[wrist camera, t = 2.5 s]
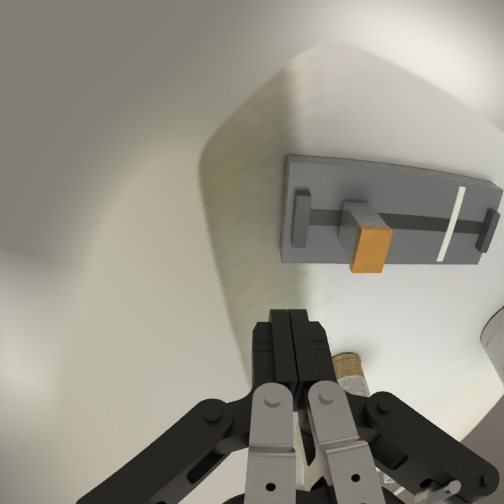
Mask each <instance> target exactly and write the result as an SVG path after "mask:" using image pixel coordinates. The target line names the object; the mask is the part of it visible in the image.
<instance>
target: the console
mask: <svg viewBox="0 0 504 504" xmlns="http://www.w3.org/2000/svg"><path fill="white" fill-rule="evenodd" d="M502 193H503V190H502V189H501V188H499V187H498V186H496V185H495V184H493V183H492V182H489V181H485V180H480V179H475V178H471V177H466V176H461V175H456V174H450V173H445V172H439V171H434V170H428V169H421V168H415V167H408V166H401V165H394V164H387V163H379V162H370V161H361V160H352V159H341V158H329V157H317V156H301V155H287V160H286V175H285V189H284V202H283V215H282V228H281V240H280V254H281V261H282V263H337V264H349V262H348V260H347V258H346V256H345V253H344V251H343V249H342V247H341V245H340V242H339V240H338V233H339V227H340V221H341V215H342V210H343V203H344V201H349V202H364V203H370V204H371V205H372V207H373V208H374V209H375V210H376V212H377V213H378V214H379V215H380V217H381V218H382V219H383V221H384V222H385V223H386V224H387V226H389V227H390V228H391V229H392V231H393V233H392V237H391V240H390V244H389V248H388V251H387V255H386V258H385V262H384V264H478V262H479V259H480V257H481V254H482V253H487V250H488V248H489V245H490V243H491V240H492V237H493V234H494V232H495V229H496V226H497V223H498V220H499V217H500V214H499V213H498V212H497V210H498V207H499V203H500V200H501V197H502Z"/></svg>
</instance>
